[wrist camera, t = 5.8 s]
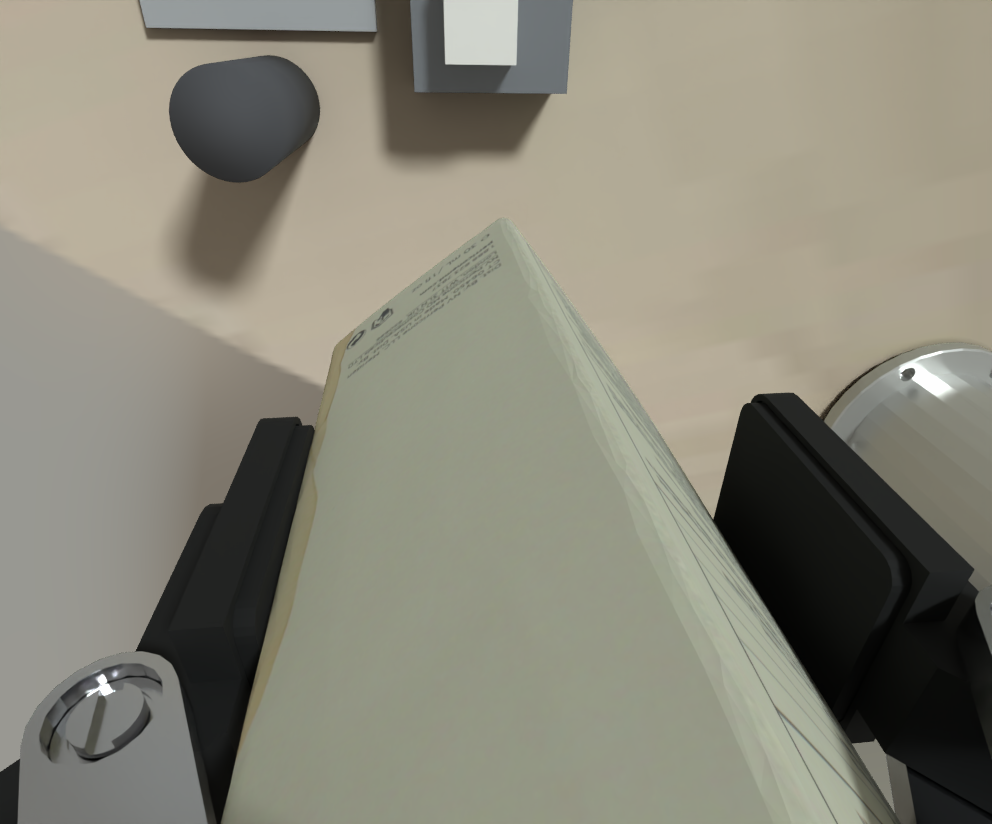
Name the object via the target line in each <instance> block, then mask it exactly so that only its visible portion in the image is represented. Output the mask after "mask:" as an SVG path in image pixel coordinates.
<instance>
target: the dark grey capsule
mask: <svg viewBox="0 0 992 824" xmlns="http://www.w3.org/2000/svg"><path fill="white" fill-rule="evenodd" d="M169 115H170V122H171V127H172V130H173V133H174V136H175V138H176V140H177V142H178V144H179V146H180V147H181V149H182V150H183V152H184V153H185V154H186V156H187V157H188V158H189V159H190V160H191V161H192V162H193V163H194V164H195V165H196V166H197V167H199V168H200V169H201V170H203V171H204V172H206V173H207V174H209V175H211V176H213V177H215V178H218V179H221V180H224V181H229V182H248V181H252V180H255V179H257V178H260V177H261V176H263V175H265V174H266V173H267V172H268V171H270V170H271V169H272V168H273V167H275V166H276V165H277V164H279V163H280V162H281V161H282V160H284V159H285V158H286V157H287V156H289V155H290V154H291V153H292V152H294V151H295V150H296V149H297V148H299V147H300V146H301V145H302V144H304V143H305V142H306V141H307V140H309V138H310V137H311V136H312V135H313V133H314V132H315V130H316V128H317V125H318V122H319V117H320V105H319V99H318V95H317V92H316V90H315V87H314V85H313V84H312V82H311V80H310V79H309V77H308V76H307V75H306V74H305V73H304V72H303V70H302V69H300V68H299V67H298V66H297V65H295V64H294V63H292V62H291V61H289V60H287V59H284V58H281V57H278V56H270V55H267V56H258V57H251V58H244V59H237V60H230V61H223V62H216V63H209V64H204V65H200V66H197V67H195V68H192V69H191V70H189V71H188V72H186V73H185V74H184V75H183V76H182V77H181V78H180V79H179V80H178V82H177V83H176V85H175V87H174V89H173V91H172V94H171V98H170V104H169Z"/></svg>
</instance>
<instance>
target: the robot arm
mask: <svg viewBox="0 0 992 824" xmlns="http://www.w3.org/2000/svg"><path fill="white" fill-rule="evenodd" d="M314 431H315V430H314V428H313V426H312V425H306V426H302V423H301V421H300V419H299V418H298V417H285V418H284V417H283V418H263V419H261V420H260V421H259V422H258V424H257V427H256V429H255V431H254V434H253V436H252V438H251V440H250V443H249V445H248V447H247V450H246V452H245V454H244V457H243V459H242V461H241V463H240V466H239V468H238V471H237V473H236V475H235V478H234V480H233V482H232V484H231V486H230V489H229V491H228V493H227V496H226V498H225V500H224V503H222V504H209V505H208V506H206V507H205V508H204V510H203V511H202V512H201V514H200V516H199V518H198V520H197V522H196V525H195V527H194V529H193V531H192V533H191V535H190V537H189V539H188V541H187V543H186V546H185V548H184V550H183V552H182V554H181V557H180V559H179V560H178V562H177V565H176V567H175V569H174V571H173V573H172V575H171V577H170V580H169V582H168V584H167V586H166V588H165V590H164V592H163V594H162V596H161V598H160V601H159V603H158V605H157V607H156V609H155V611H154V613H153V615H152V618H151V620H150V622H149V624H148V626H147V628H146V630H145V632H144V635H143V637H142V639H141V641H140V643H139V645H138V647H137V649H136V651H135V652H125V653H119V654H116V655H113V656H109V657H106V658H103V659H99V660H97V661H95V662H93V663H91V664H90V665H88V666H86V667H84V668H82V669H80V670H78V671H76V672H75V673H73V674H72V675H71V676H69V677H68V678H67V679H65V680H64V681H63V682H61V683H60V684H59V685H57V686H56V687H55V688H54V689H53V690H52V691H51V692H50V693H49V695H47V697H46V698H45V699H44V700H43V701H42V702H41V703H40V704H39V705H38V706H37V708H36V710H35V711H34V713H33V715H32V717H31V718H30V720H29V722H28V724H27V725H26V727H25V731H24V735H23V739H22V743H21V749H20V759H19V760H17V761H16V762H15V763H13V764H12V765H10V766H9V767H7V768H6V769H4V770H3V771H1V772H0V824H221V820H222V816H223V812H224V808H225V804H226V800H227V796H228V792H229V788H230V784H231V779H232V774H233V770H234V765H235V760H236V755H237V751H238V747H239V742H240V738H241V733H242V729H243V725H244V720H245V716H246V712H247V708H248V704H249V699H250V695H251V691H252V687H253V683H254V679H255V675H256V671H257V667H258V663H259V659H260V655H261V651H262V647H263V643H264V638H265V634H266V629H267V625H268V620H269V616H270V612H271V608H272V604H273V600H274V597H275V592H276V587H277V583H278V578H279V574H280V570H281V566H282V562H283V558H284V555H285V550H286V546H287V542H288V538H289V534H290V530H291V526H292V522H293V518H294V514H295V510H296V505H297V501H298V497H299V493H300V489H301V485H302V480H303V476H304V472H305V468H306V464H307V459H308V455H309V451H310V447H311V444H312V440H313V436H314ZM713 520H714V522H715V523H716V525H717V527H718V528H719V530H720V532H721V533H722V535H723V536H724V538H725V540H726V541H727V543H728V544H729V546H730V548H731V549H732V551H733V553H734V554H735V556H736V557H737V559H738V561H739V562H740V564H741V565H742V567H743V569H744V570H745V572H746V573H747V575H748V577H749V578H750V580H751V582H752V583H753V585H754V586H755V588H756V590H757V591H758V593H759V594H760V596H761V598H762V599H763V601H764V603H765V604H766V606H767V607H768V609H769V611H770V612H771V614H772V615H773V617H774V619H775V620H776V622H777V624H778V625H779V627H780V628H781V630H782V632H783V633H784V635H785V636H786V638H787V640H788V641H789V643H790V644H791V646H792V648H793V649H794V651H795V653H796V654H797V656H798V657H799V659H800V661H801V662H802V664H803V665H804V667H805V669H806V670H807V672H808V674H809V675H810V677H811V678H812V680H813V682H814V683H815V685H816V686H817V688H818V690H819V691H820V693H821V695H822V696H823V698H824V699H825V701H826V703H827V704H828V706H829V708H830V709H831V711H832V712H833V714H834V716H835V717H836V719H837V721H838V722H839V724H840V725H841V727H842V729H843V730H844V732H845V734H846V735H847V737H848V738H849V740H850V742H851V743H862V742H871V741H874V740H875V738H876V739H877V741H878V742H879V744H880V746H881V747H882V749H883V751H884V752H885V753H886V759H887V766H888V772H889V778H890V784H891V790H892V797H893V803H894V810H895V814H896V816H897V818H898V819H899V821H900V822H901V824H992V351H990V350H988V349H985V348H983V347H981V346H978V345H973V344H967V343H940V344H935V345H930V346H924V347H920V348H918V349H915V350H912V351H909V352H906V353H903V354H901V355H899V356H897V357H895V358H893V359H891V360H889V361H887V362H885V363H883V364H881V365H879V366H878V367H877V368H875V369H874V370H872V371H871V372H869V373H868V374H866V375H865V376H863V377H862V378H861V379H860V380H859V381H857V382H856V383H855V384H854V385H853V386H852V387H851V388H850V389H849V390H847V391H846V392H845V393H844V394H843V396H842V397H841V398H840V399H839V400H838V402H837V403H836V404H835V405H834V406H833V407H832V409H831V410H830V412H829V414H828V415H827V417H826V418H825V420H824V421H823V420H822V419H821V418H820V417H819V416H818V415H817V414H816V413H815V412H814V411H813V410H812V409H810V408H809V407H808V406H807V405H806V404H805V403H804V402H803V401H802V400H801V399H800V398H799V397H798V396H797V395H795V394H794V393H772V394H758V395H756V396H754V398H753V399H752V401H751V403H747V404H745V405H744V406H743V407H742V410H741V412H740V416H739V420H738V424H737V428H736V432H735V436H734V440H733V444H732V448H731V452H730V456H729V460H728V464H727V468H726V472H725V476H724V480H723V484H722V488H721V492H720V496H719V500H718V504H717V508H716V512H715V516H714V519H713Z"/></svg>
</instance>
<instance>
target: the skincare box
mask: <svg viewBox="0 0 992 824" xmlns="http://www.w3.org/2000/svg"><path fill="white" fill-rule="evenodd" d="M221 824H901V822H900V821H899V819H898V818H897V816H896V814H895V813H894V811H893V810H892V808H891V806H890V805H889V803H888V802H887V800H886V798H885V797H884V795H883V793H882V792H881V790H880V789H879V787H878V785H877V784H876V782H875V781H874V779H873V777H872V776H871V774H870V772H869V771H868V769H867V768H866V766H865V764H864V763H863V761H862V760H861V758H860V756H859V755H858V753H857V752H856V750H855V748H854V747H853V745H852V743H851V742H850V740H849V738H848V737H847V735H846V734H845V732H844V730H843V729H842V727H841V725H840V724H839V722H838V721H837V719H836V717H835V716H834V714H833V712H832V711H831V709H830V708H829V706H828V704H827V703H826V701H825V699H824V698H823V696H822V695H821V693H820V691H819V690H818V688H817V686H816V685H815V683H814V682H813V680H812V678H811V677H810V675H809V674H808V672H807V670H806V669H805V667H804V665H803V664H802V662H801V661H800V659H799V657H798V656H797V654H796V653H795V651H794V649H793V648H792V646H791V644H790V643H789V641H788V640H787V638H786V636H785V635H784V633H783V632H782V630H781V628H780V627H779V625H778V624H777V622H776V620H775V619H774V617H773V615H772V614H771V612H770V611H769V609H768V607H767V606H766V604H765V603H764V601H763V599H762V598H761V596H760V594H759V593H758V591H757V590H756V588H755V586H754V585H753V583H752V582H751V580H750V578H749V577H748V575H747V573H746V572H745V570H744V569H743V567H742V565H741V564H740V562H739V561H738V559H737V557H736V556H735V554H734V553H733V551H732V549H731V548H730V546H729V544H728V543H727V541H726V540H725V538H724V536H723V535H722V533H721V532H720V530H719V528H718V527H717V525H716V523H715V522H714V520H713V519H712V517H711V515H710V514H709V512H708V511H707V509H706V507H705V506H704V504H703V502H702V501H701V499H700V498H699V496H698V494H697V493H696V491H695V490H694V488H693V486H692V485H691V483H690V481H689V480H688V478H687V477H686V475H685V473H684V472H683V470H682V469H681V467H680V465H679V464H678V462H677V461H676V459H675V457H674V456H673V454H672V452H671V451H670V449H669V448H668V446H667V444H666V443H665V441H664V439H663V438H662V436H661V434H660V433H659V431H658V429H657V428H656V426H655V425H654V423H653V422H652V420H651V419H650V417H649V416H648V414H647V413H646V411H645V410H644V408H643V407H642V405H641V404H640V402H639V401H638V399H637V398H636V396H635V395H634V393H633V391H632V390H631V388H630V387H629V385H628V384H627V382H626V381H625V379H624V378H623V376H622V375H621V373H620V372H619V370H618V369H617V368H616V366H615V365H614V363H613V362H612V360H611V359H610V357H609V356H608V354H607V353H606V351H605V350H604V349H603V347H602V346H601V344H600V343H599V341H598V340H597V338H596V337H595V336H594V334H593V333H592V331H591V330H590V328H589V327H588V326H587V324H586V323H585V321H584V320H583V318H582V317H581V316H580V314H579V313H578V311H577V310H576V308H575V307H574V306H573V304H572V303H571V301H570V300H569V299H568V297H567V296H566V294H565V293H564V292H563V290H562V289H561V287H560V286H559V285H558V283H557V282H556V280H555V279H554V278H553V276H552V275H551V273H550V272H549V271H548V269H547V268H546V267H545V265H544V264H543V263H542V261H541V260H540V259H539V257H538V256H537V255H536V253H535V252H534V250H533V249H532V248H531V246H530V245H529V244H528V242H527V241H526V240H525V238H524V237H523V236H522V234H521V233H520V232H519V230H518V229H517V228H516V226H515V225H514V224H513V222H512V221H510V220H509V219H507V218H501V219H498V220H496V221H495V222H494V223H492V224H491V225H490V226H489V227H487V228H486V229H485V230H483V231H482V232H481V233H479V234H478V235H476V236H475V237H474V238H472V239H471V240H469V241H468V242H467V243H465V244H464V245H463V246H461V247H460V248H459V249H457V250H456V251H455V252H453V253H452V254H450V255H449V256H448V257H446V258H445V259H444V260H442V261H441V262H440V263H438V264H437V265H436V266H434V267H433V268H432V269H430V270H429V271H428V272H426V273H425V274H424V275H422V276H421V277H420V278H419V279H417V280H416V281H415V282H413V283H412V284H411V285H410V286H408V287H407V288H405V289H404V290H403V291H401V292H400V293H399V294H398V295H396V296H395V297H394V298H393V299H391V300H390V301H389V302H388V303H386V304H385V305H384V306H382V307H381V308H380V309H379V310H378V311H376V312H375V313H374V314H372V315H371V316H370V317H369V318H368V319H366V320H365V321H364V322H363V323H362V324H360V325H359V326H358V327H357V328H356V329H354V330H353V331H352V332H351V333H349V334H348V335H347V336H346V337H345V338H343V339H342V340H341V341H340V342H339V343H338V344H337V345H336V346H335V348H334V351H333V355H332V360H331V364H330V368H329V372H328V376H327V380H326V385H325V388H324V393H323V398H322V402H321V405H320V409H319V413H318V418H317V422H316V426H315V431H314V436H313V440H312V444H311V447H310V451H309V455H308V459H307V464H306V468H305V472H304V476H303V480H302V485H301V489H300V493H299V497H298V501H297V505H296V510H295V514H294V518H293V522H292V526H291V530H290V534H289V538H288V542H287V546H286V550H285V555H284V558H283V562H282V566H281V570H280V574H279V578H278V583H277V587H276V592H275V597H274V600H273V604H272V608H271V612H270V616H269V620H268V625H267V629H266V634H265V638H264V643H263V647H262V651H261V655H260V659H259V663H258V667H257V671H256V675H255V679H254V683H253V687H252V691H251V695H250V699H249V704H248V708H247V712H246V716H245V720H244V725H243V729H242V733H241V738H240V742H239V747H238V751H237V755H236V760H235V765H234V770H233V774H232V779H231V784H230V788H229V792H228V796H227V800H226V804H225V808H224V812H223V816H222V820H221Z"/></svg>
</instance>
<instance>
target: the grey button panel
mask: <svg viewBox="0 0 992 824" xmlns="http://www.w3.org/2000/svg"><path fill="white" fill-rule="evenodd" d="M140 4H141V9H142V13H143V17H144V21H145V25H146V28H196V29H252V30H309V31H365V32H377V19H376V6H375V0H140ZM572 5H573V0H410V8H411V28H412V48H413V69H414V89H415V92H445V93H546V94H567V80H568V65H569V50H570V35H571V20H572Z"/></svg>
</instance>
